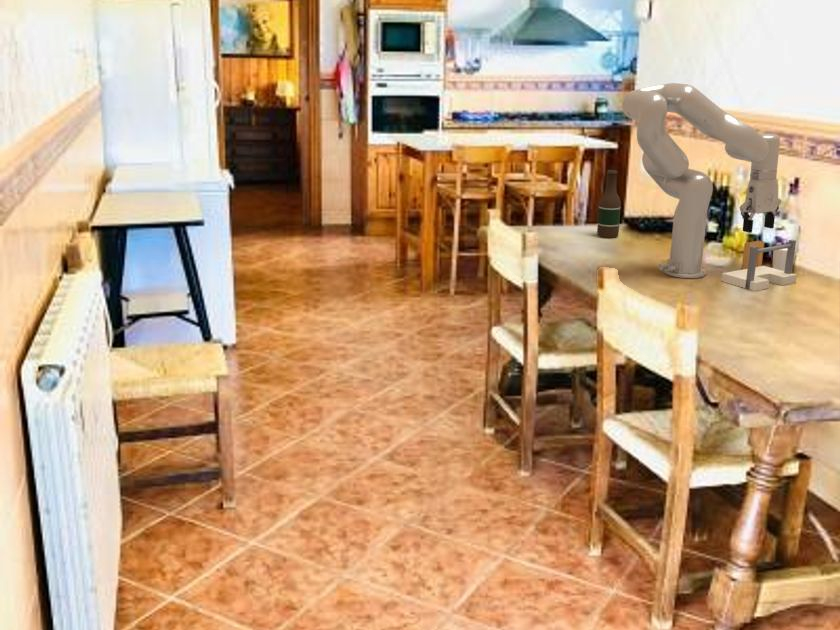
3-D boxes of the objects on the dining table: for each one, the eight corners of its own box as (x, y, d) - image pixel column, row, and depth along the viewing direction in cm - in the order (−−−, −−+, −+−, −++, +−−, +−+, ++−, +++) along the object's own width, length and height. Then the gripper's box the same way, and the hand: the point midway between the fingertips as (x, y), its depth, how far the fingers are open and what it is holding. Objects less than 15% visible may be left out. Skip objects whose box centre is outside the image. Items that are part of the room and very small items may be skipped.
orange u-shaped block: (761, 267, 280) (764, 241, 278) (746, 270, 277) (749, 244, 275) (756, 266, 282) (759, 240, 279) (741, 269, 279) (744, 242, 276)
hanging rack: (754, 291, 255) (759, 248, 251) (721, 281, 265) (726, 240, 261) (795, 282, 264) (801, 241, 260) (762, 273, 274) (767, 233, 270)
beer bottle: (620, 238, 318) (625, 172, 311) (598, 238, 319) (603, 172, 311) (616, 234, 326) (620, 168, 318) (595, 234, 326) (599, 168, 319)
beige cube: (795, 273, 274) (798, 251, 272) (772, 272, 275) (775, 250, 273) (791, 267, 281) (794, 246, 278) (768, 266, 282) (771, 245, 280)
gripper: (753, 179, 263) (748, 235, 269) (792, 173, 271) (786, 228, 277) (733, 176, 270) (729, 231, 275) (772, 170, 278) (767, 224, 283)
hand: (758, 229), depth 276 cm, fingers open, 9 cm apart
